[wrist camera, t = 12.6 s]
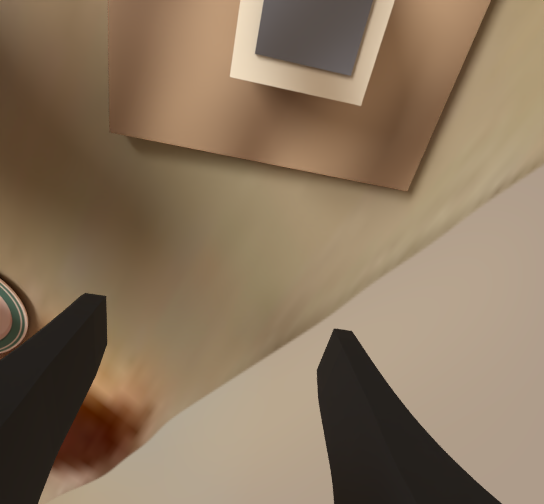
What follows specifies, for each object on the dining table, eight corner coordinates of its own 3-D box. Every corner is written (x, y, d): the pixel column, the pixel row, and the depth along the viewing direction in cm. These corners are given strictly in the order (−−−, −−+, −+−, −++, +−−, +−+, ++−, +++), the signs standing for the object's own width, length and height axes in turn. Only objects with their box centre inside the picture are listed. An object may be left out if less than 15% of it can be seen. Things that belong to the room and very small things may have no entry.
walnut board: (118, 124, 18) (109, 132, 17) (117, -277, 11) (103, -305, 10) (399, 181, 20) (407, 191, 19) (533, -136, 13) (555, -148, 12)
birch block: (238, 56, 15) (229, 77, 11) (259, -90, 13) (259, -137, 9) (334, 78, 16) (362, 107, 11) (371, -58, 13) (424, -87, 9)
